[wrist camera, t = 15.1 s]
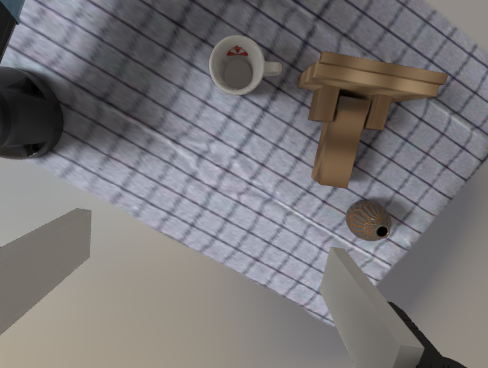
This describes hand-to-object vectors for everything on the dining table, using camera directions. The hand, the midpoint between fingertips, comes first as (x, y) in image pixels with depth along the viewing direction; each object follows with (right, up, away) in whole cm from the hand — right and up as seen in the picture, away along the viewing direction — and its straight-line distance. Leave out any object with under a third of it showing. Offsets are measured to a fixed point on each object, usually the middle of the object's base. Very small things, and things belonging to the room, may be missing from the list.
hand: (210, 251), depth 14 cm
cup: (+2, +22, +31) cm, 38 cm away
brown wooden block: (+18, +11, +33) cm, 39 cm away
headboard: (+19, +18, +32) cm, 41 cm away
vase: (+24, -2, +36) cm, 44 cm away
